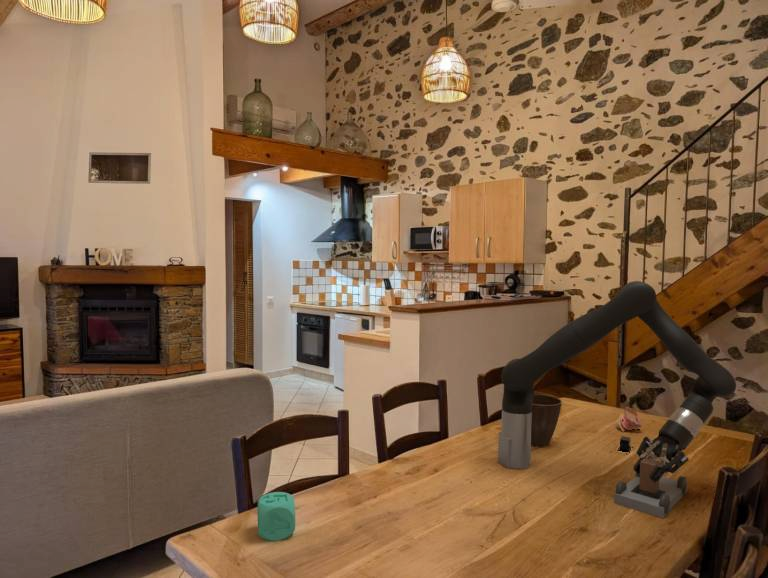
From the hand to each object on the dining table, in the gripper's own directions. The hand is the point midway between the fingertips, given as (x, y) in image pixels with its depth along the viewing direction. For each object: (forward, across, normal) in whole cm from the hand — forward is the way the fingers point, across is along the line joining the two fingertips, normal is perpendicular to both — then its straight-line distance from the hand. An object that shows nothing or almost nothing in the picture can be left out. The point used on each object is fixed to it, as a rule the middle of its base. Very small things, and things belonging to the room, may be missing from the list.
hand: (644, 475), depth 143 cm
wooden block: (+2, 0, +4) cm, 5 cm away
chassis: (+2, -2, +8) cm, 8 cm away
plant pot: (+6, -48, +4) cm, 48 cm away
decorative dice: (+73, -8, -64) cm, 97 cm away
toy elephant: (-24, -52, +35) cm, 68 cm away
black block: (-12, -35, +23) cm, 43 cm away
